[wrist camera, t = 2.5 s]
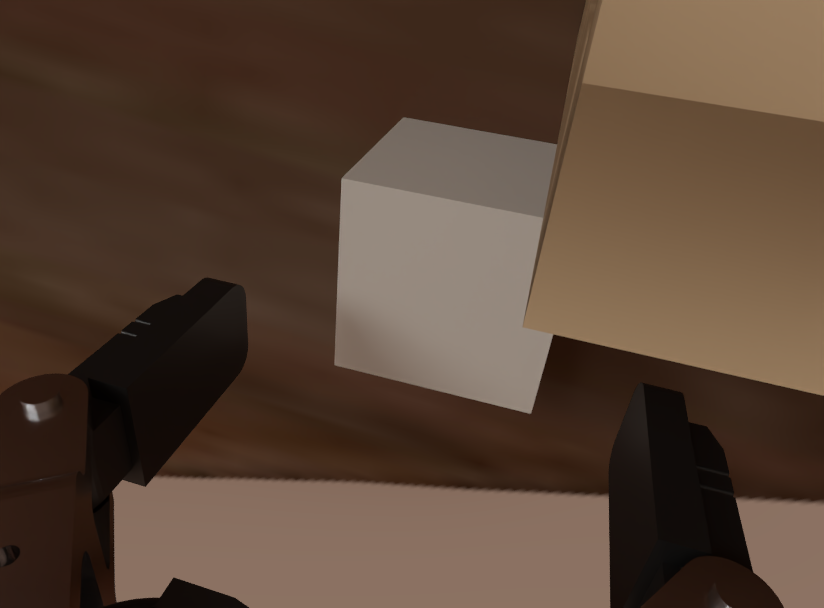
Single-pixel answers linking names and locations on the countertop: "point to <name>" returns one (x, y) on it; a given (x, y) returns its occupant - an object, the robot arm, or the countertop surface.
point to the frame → (691, 188)
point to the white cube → (444, 262)
